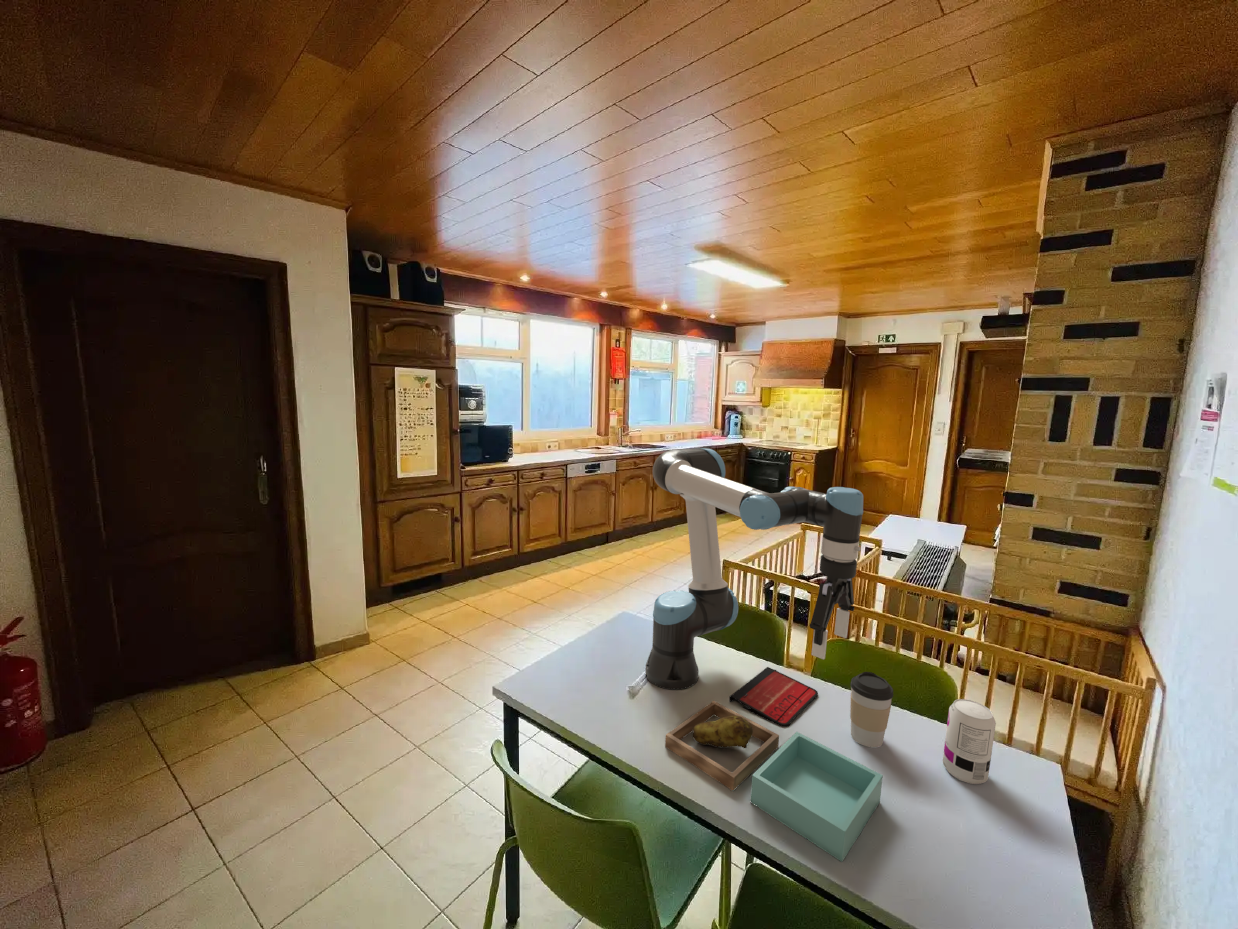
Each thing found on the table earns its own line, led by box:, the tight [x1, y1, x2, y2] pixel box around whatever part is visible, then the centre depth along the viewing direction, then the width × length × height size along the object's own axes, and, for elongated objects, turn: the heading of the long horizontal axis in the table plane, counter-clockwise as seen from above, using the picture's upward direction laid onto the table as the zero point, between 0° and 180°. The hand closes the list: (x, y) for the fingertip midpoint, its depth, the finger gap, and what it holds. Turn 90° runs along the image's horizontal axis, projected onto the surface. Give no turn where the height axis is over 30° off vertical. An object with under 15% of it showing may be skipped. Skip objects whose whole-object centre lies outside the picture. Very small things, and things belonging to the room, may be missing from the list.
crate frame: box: [664, 700, 780, 791], centre depth 117 cm, size 18×19×3 cm
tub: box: [750, 731, 884, 863], centre depth 102 cm, size 18×19×6 cm
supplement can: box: [942, 698, 997, 785], centre depth 110 cm, size 8×8×15 cm
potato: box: [692, 716, 753, 749], centre depth 117 cm, size 8×13×8 cm, turn 53°
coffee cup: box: [849, 671, 894, 748], centre depth 121 cm, size 9×9×15 cm
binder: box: [729, 666, 819, 728], centre depth 137 cm, size 16×2×21 cm
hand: (829, 645), depth 117 cm, fingers open, 13 cm apart
